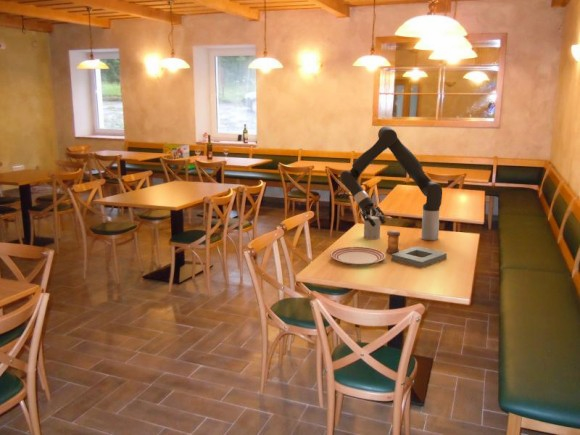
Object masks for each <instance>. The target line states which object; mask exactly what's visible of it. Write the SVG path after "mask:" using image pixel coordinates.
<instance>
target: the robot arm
mask: <svg viewBox="0 0 580 435" xmlns="http://www.w3.org/2000/svg"><path fill="white" fill-rule="evenodd" d="M377 134H378V135H377V136H378V137H377V138H378V139H377V141H376V142H375V143H374V144H373V145H372V146H371V147H370V148H369V149H367V150H365V151H364V152H363V153H362V154H361V155H359V157H358V158H356V160H354V162H353V163H352V168H351V169H349V170H343V171H342V172H341V173H340V176H339V177H340V181H341V183H343V185H344V187H346V189H347V190H348V191H349V192H350V194H351V196H352V197H353V199H354V201H355V203H356V204H357V205H358V207H359V209H360V215H361V216H362V218H363V219H364V220H365V221H369V222H370V224H371V225H372V226H373V227H374V226H375V225H376V224H375V222H374V221H373V219H372V216H375V217H377V218H379V220H380V224H382V225H385V224H386V222H387V221H386V220H385V218H384V215H385V212H383V211H382V210H381V207H379V206H376V207H375V206H374V202H373V200H372V198H371V197H370V195H369V194H368V193H367V192H366V191H365V189H364V188H363V187H362V185H361V184H360V183H358V182H357V180H358V179H359V178H360V176H361V174H362V173H363V172H364V171H365V170H366V169H367V168H368V167H369V166H370V164H372V162H373V161H375V159H376V158H378V156H380V155H381V154H382V153H383V152H384V151H386V150H387V149H389V150H390V152H391V153H392V155H393V156H394V158H395V159H396V161H397V162H398V163H399V166H400V167H401V168H402V169H403V170H404V171H405V172H406V174H407V175H408V176H409V177H410V178H411V179H412V180H413V181H414V183H415V184H416V185H417V187H418V189H419V190H420V192H421V193H422V195H423V196H425V197H426V201H425V203H423V206H422V218H421V220H422V221H421V225H422V226H421V240H425V241H437V240H438V239H439V233H440V232H439V231H440V210H441V209H440V208H441V205H442V200H443V199H442V198H443V187H442V186H441V184H439V183H438V182H435V181H432V179H430V178H429V177H428V175H427V174H426V173H425V171H424V170H423V166H422V164H421V162H420V161H419V159H418V158H417V157H416V155H414V154H413V152H412V151H410V149H408V147H406V146H405V145H404V144H403V143H402V142H401V140H400V138H398V133H397V132H396V131H395V130H394V129H393V128H392V127H391V126H382V127H380V128H379V130H378V132H377ZM365 216H366V218H365ZM364 220H363V221H364Z"/></svg>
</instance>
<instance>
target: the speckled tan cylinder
mask: <svg viewBox="0 0 580 435" xmlns="http://www.w3.org/2000/svg"><path fill="white" fill-rule="evenodd" d="M365 218H366V216H365ZM372 219H373V221H374V222H375V224H376V225H375V226H374V227H373V226H372V225H371V224H370V222H369V221H365V220H363V221H364V222H363V238H364V239H366V240H380V239H381V221H380V220H379V218H377V217H375V216H372Z"/></svg>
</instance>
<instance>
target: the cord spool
mask: <svg viewBox="0 0 580 435" xmlns="http://www.w3.org/2000/svg"><path fill="white" fill-rule="evenodd" d="M386 232H387V234H386V235H387V236H388V237H387V248H386V253H387V254H391V255H392V254H394V253H397V252H400V248H399V237H400V236H401V232H400V231H399V230H388V231H386Z"/></svg>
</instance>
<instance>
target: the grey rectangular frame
mask: <svg viewBox="0 0 580 435" xmlns="http://www.w3.org/2000/svg"><path fill="white" fill-rule="evenodd" d="M447 254H448V253H447V252H443V251H439V250H435V249H431V248H426V247H422V246H418V245H416V246H412V247H409V248H407V249H404V250H399V252H397V253H394V254H391V261H395V262H398V263H401V264H404V265H409V266H413V267H417V268H421V269H423V268H425V267H428V266H431V265H434V264H437V263H439V262H442V261H444V260H446V259H447Z"/></svg>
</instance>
